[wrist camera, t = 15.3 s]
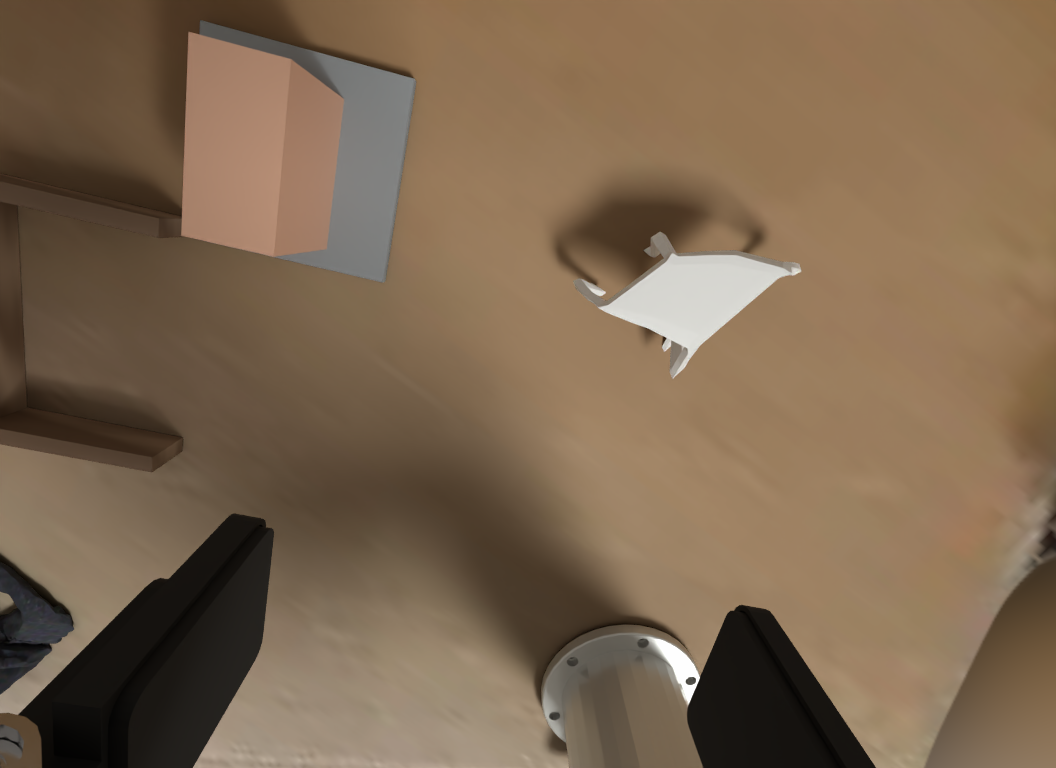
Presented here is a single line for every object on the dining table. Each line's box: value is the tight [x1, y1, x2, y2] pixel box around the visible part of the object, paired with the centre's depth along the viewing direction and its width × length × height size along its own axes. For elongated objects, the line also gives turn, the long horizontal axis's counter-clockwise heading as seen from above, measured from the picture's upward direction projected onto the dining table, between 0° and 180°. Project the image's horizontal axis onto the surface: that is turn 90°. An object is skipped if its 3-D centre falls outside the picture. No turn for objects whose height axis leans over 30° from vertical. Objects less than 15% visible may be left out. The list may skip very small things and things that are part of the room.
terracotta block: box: [181, 32, 344, 257], centre depth 25 cm, size 4×8×7 cm, turn 167°
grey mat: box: [193, 20, 416, 282], centre depth 29 cm, size 11×11×1 cm
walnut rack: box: [0, 174, 185, 472], centre depth 30 cm, size 15×10×3 cm
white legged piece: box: [573, 232, 801, 379], centre depth 29 cm, size 12×8×5 cm
